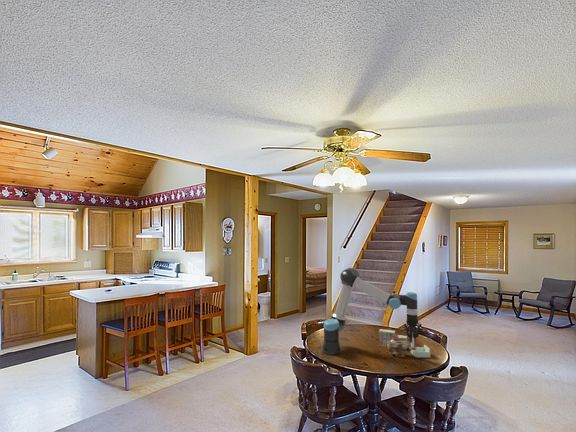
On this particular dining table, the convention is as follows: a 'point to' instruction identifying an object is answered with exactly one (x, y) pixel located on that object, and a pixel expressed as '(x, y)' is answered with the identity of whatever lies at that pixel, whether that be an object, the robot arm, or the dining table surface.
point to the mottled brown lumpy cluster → (404, 344)
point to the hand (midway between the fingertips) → (412, 346)
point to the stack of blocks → (390, 337)
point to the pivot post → (399, 351)
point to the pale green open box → (421, 352)
